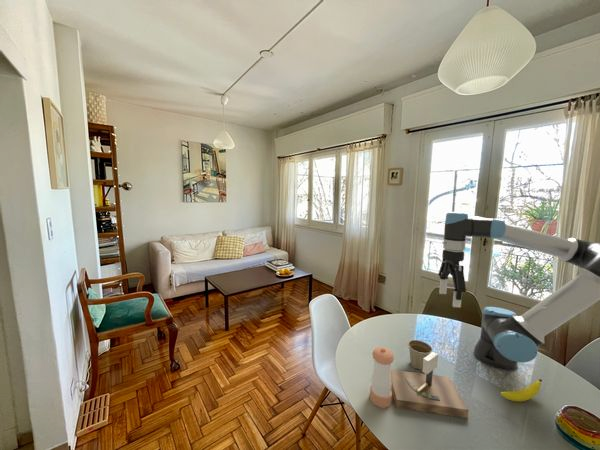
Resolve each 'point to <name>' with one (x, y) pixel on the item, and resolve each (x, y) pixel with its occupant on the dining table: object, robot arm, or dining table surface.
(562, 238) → the robot arm
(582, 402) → the dining table surface
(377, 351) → the salt shaker
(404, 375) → the tuner board
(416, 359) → the flower pot
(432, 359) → the white angular block
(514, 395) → the banana
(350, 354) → the dining table surface
